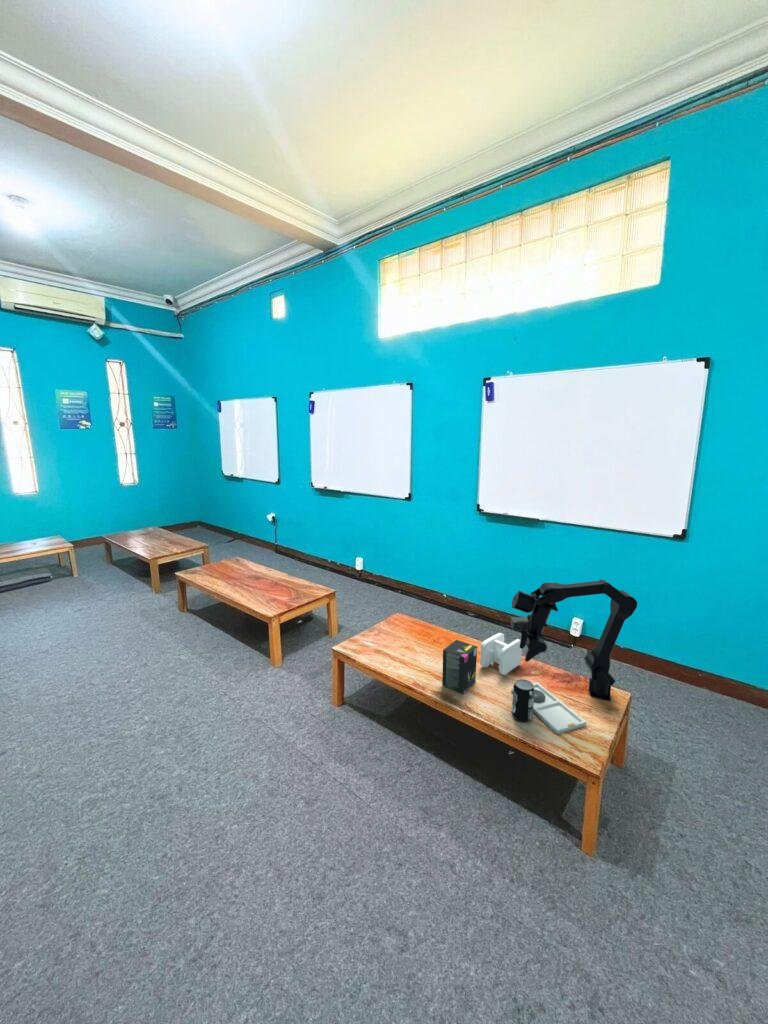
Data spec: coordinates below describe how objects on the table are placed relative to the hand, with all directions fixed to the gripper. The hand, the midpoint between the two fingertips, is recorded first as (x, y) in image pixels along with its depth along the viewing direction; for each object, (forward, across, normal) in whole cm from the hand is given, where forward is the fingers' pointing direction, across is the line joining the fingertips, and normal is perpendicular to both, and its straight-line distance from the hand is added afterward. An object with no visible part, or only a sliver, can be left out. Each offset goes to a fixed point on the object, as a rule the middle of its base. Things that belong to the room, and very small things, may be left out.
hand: (523, 654), depth 147 cm
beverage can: (+14, +17, +1) cm, 22 cm away
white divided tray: (+11, +11, +10) cm, 18 cm away
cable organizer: (+15, -14, -1) cm, 21 cm away
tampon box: (+20, 0, -18) cm, 27 cm away
